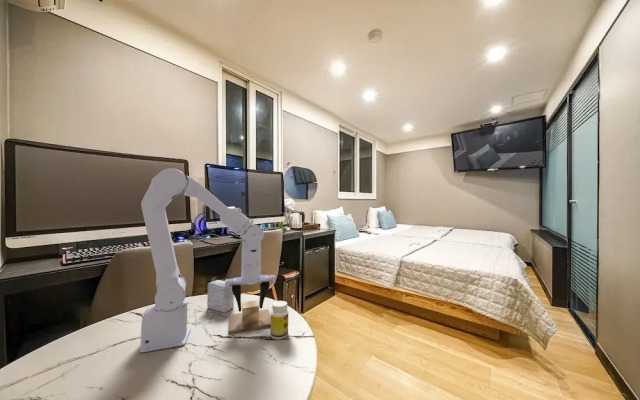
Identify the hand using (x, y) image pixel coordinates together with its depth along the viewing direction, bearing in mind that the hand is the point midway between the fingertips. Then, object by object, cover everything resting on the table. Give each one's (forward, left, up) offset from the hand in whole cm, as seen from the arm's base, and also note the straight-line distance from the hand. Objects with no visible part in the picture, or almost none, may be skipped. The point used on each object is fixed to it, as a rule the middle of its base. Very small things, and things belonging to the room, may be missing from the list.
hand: (250, 308), depth 69 cm
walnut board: (0, 0, -4) cm, 4 cm away
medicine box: (-9, +13, -4) cm, 16 cm away
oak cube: (0, 0, -3) cm, 3 cm away
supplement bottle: (+7, -10, -4) cm, 13 cm away
